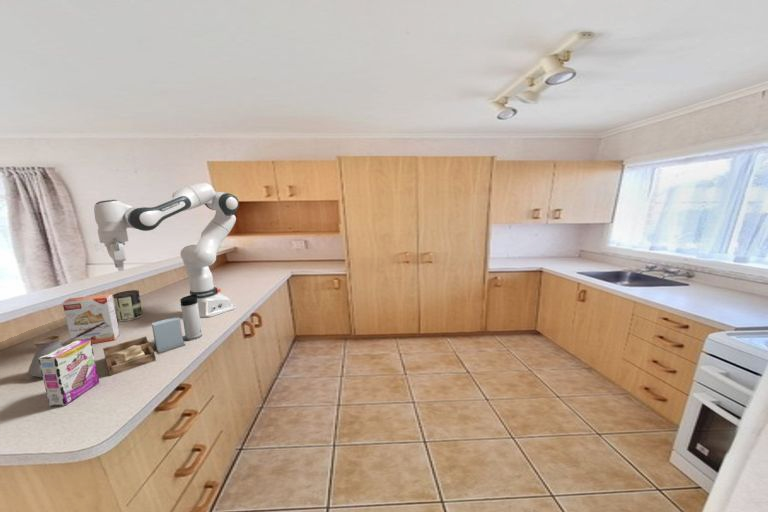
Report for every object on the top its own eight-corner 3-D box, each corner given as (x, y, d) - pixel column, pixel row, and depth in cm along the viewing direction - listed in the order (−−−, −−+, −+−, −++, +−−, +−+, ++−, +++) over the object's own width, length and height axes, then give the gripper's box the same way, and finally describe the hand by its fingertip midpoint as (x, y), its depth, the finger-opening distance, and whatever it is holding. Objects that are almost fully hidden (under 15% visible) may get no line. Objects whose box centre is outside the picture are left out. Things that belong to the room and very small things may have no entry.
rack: (147, 346, 117) (146, 336, 116) (155, 360, 107) (153, 348, 106) (105, 359, 107) (103, 348, 106) (109, 375, 97) (107, 363, 96)
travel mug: (205, 335, 127) (200, 295, 123) (191, 341, 121) (185, 299, 118) (197, 332, 130) (192, 293, 126) (182, 338, 124) (176, 297, 120)
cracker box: (71, 348, 116) (60, 302, 112) (79, 341, 121) (69, 297, 117) (115, 340, 122) (106, 297, 118) (120, 335, 127) (112, 293, 123)
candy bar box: (66, 406, 82) (54, 357, 79) (49, 407, 82) (36, 358, 79) (101, 382, 93) (91, 339, 90) (85, 383, 93) (75, 339, 90)
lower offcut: (143, 358, 109) (141, 350, 108) (146, 361, 106) (144, 353, 106) (116, 368, 102) (114, 359, 102) (118, 371, 100) (116, 363, 99)
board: (180, 338, 122) (177, 316, 120) (183, 341, 120) (179, 318, 118) (155, 346, 116) (151, 323, 114) (157, 349, 113) (153, 325, 111)
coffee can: (139, 312, 154) (135, 288, 152) (146, 316, 149) (141, 292, 146) (115, 318, 146) (110, 293, 143) (121, 323, 140) (116, 297, 138)
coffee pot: (26, 385, 92) (14, 345, 89) (34, 370, 100) (24, 333, 97) (113, 361, 106) (106, 326, 103) (114, 349, 114) (107, 317, 111)
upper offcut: (134, 352, 107) (133, 345, 106) (141, 352, 106) (140, 345, 106) (118, 360, 101) (117, 353, 100) (125, 361, 100) (124, 353, 100)
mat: (179, 338, 124) (179, 337, 124) (185, 345, 118) (185, 344, 118) (154, 345, 118) (154, 344, 118) (159, 353, 111) (159, 352, 111)
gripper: (127, 239, 112) (133, 271, 114) (120, 235, 125) (126, 264, 127) (105, 240, 107) (112, 274, 109) (101, 236, 120) (107, 266, 122)
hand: (119, 268), depth 118 cm, fingers open, 8 cm apart
